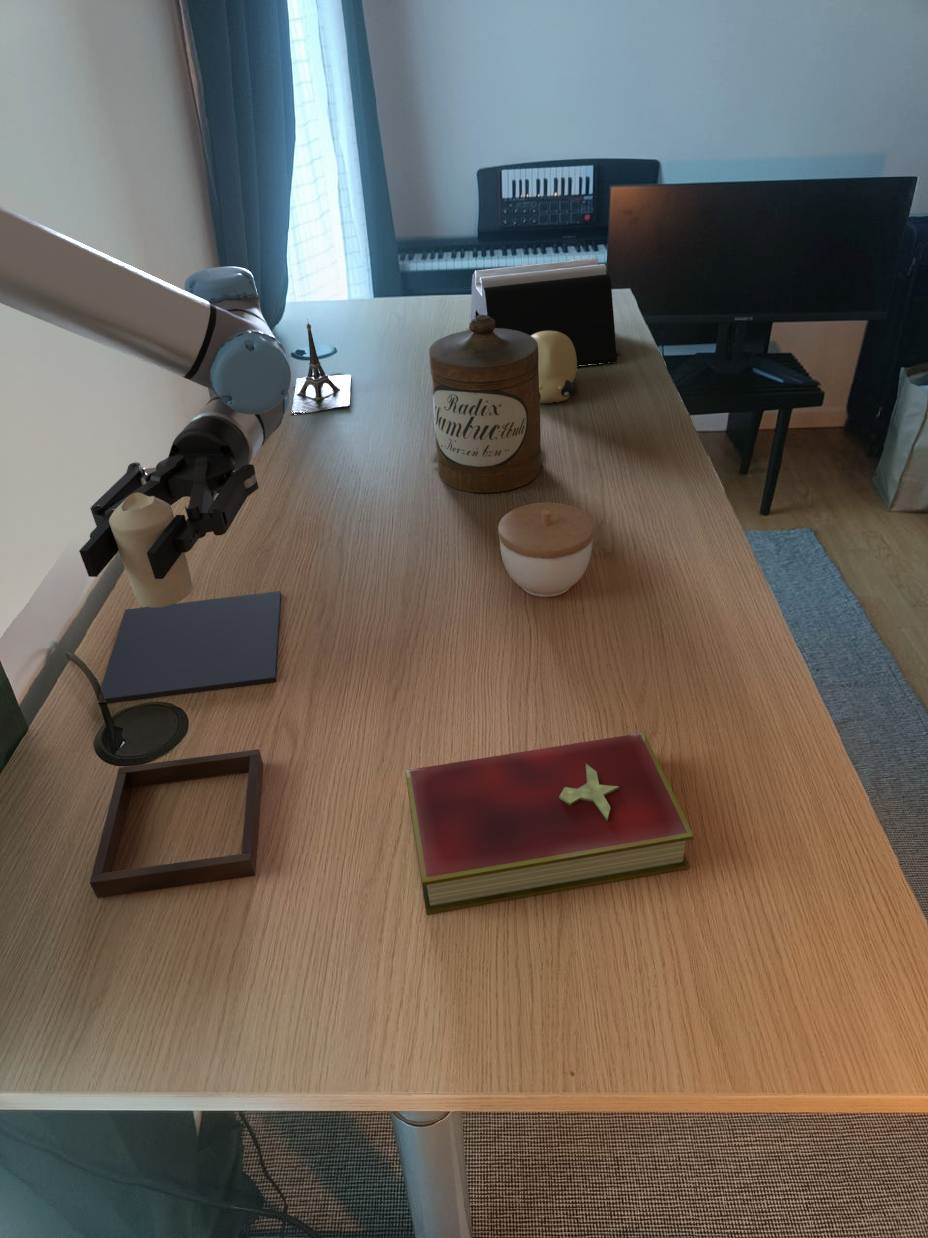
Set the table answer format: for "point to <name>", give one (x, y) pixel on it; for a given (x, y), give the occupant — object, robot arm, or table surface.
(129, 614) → the felt mat
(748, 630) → the table surface
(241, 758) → the square wooden frame
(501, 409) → the wooden container
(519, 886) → the hardcover book
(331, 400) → the eiffel tower figurine
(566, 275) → the device stand
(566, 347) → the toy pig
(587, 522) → the trinket box
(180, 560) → the candle
